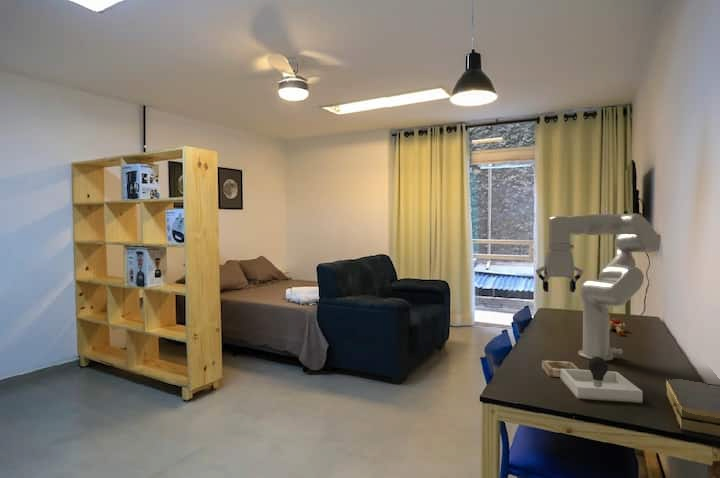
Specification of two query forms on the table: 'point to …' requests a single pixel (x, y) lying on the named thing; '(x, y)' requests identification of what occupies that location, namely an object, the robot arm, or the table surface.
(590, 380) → the tray
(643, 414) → the table surface
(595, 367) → the light bulb
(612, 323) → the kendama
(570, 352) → the table surface
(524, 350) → the table surface
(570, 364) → the beige flat square frame
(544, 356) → the table surface
